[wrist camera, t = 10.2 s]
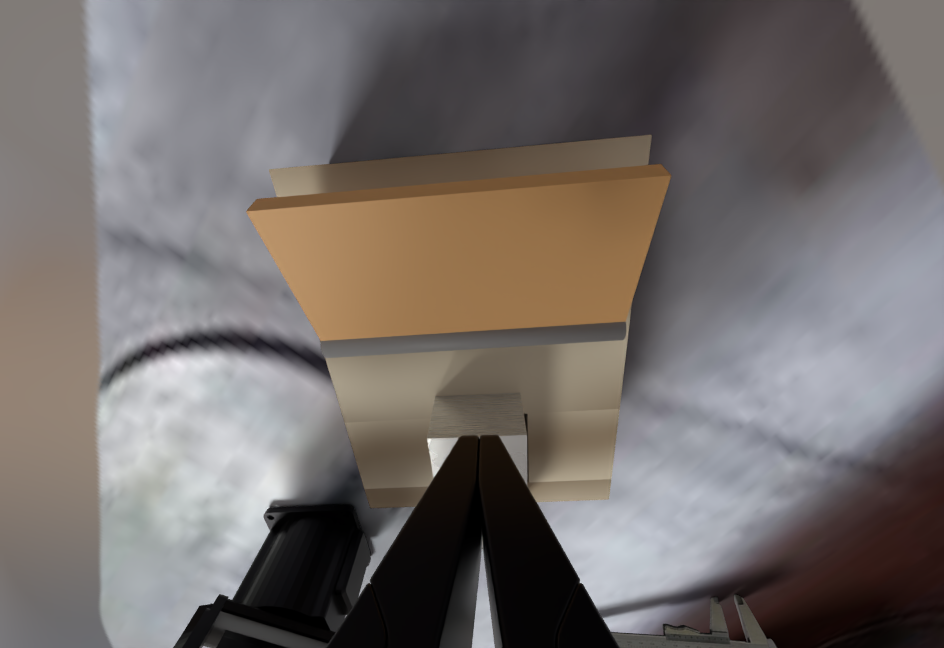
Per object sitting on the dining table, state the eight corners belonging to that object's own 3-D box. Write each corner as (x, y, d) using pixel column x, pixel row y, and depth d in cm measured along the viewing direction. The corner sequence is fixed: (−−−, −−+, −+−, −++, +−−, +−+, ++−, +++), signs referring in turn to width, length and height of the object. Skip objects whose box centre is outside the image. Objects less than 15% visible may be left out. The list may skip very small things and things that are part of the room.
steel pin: (455, 436, 22) (445, 549, 16) (444, 344, 19) (427, 438, 13) (514, 433, 22) (527, 548, 16) (511, 341, 19) (527, 434, 13)
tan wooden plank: (614, 326, 14) (622, 345, 13) (334, 343, 14) (328, 363, 14) (661, 163, 9) (676, 180, 9) (256, 198, 10) (241, 217, 9)
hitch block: (582, 428, 22) (608, 499, 18) (391, 438, 23) (370, 508, 18) (601, 139, 15) (651, 134, 11) (328, 164, 16) (268, 169, 12)
